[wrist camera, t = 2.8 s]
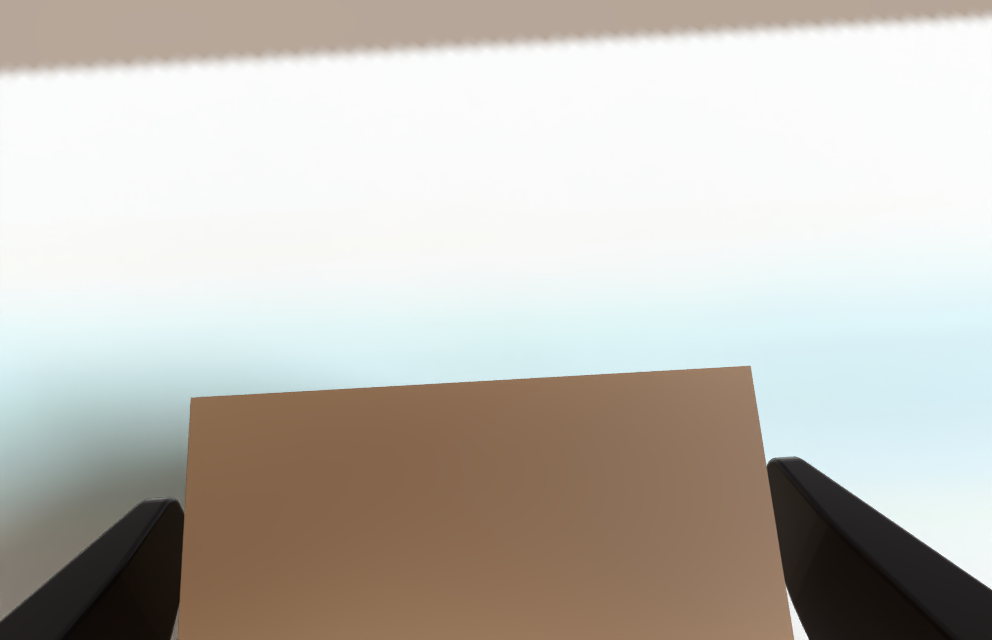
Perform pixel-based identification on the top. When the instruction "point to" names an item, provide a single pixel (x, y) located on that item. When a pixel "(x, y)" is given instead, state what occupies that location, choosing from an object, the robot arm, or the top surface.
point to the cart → (484, 512)
